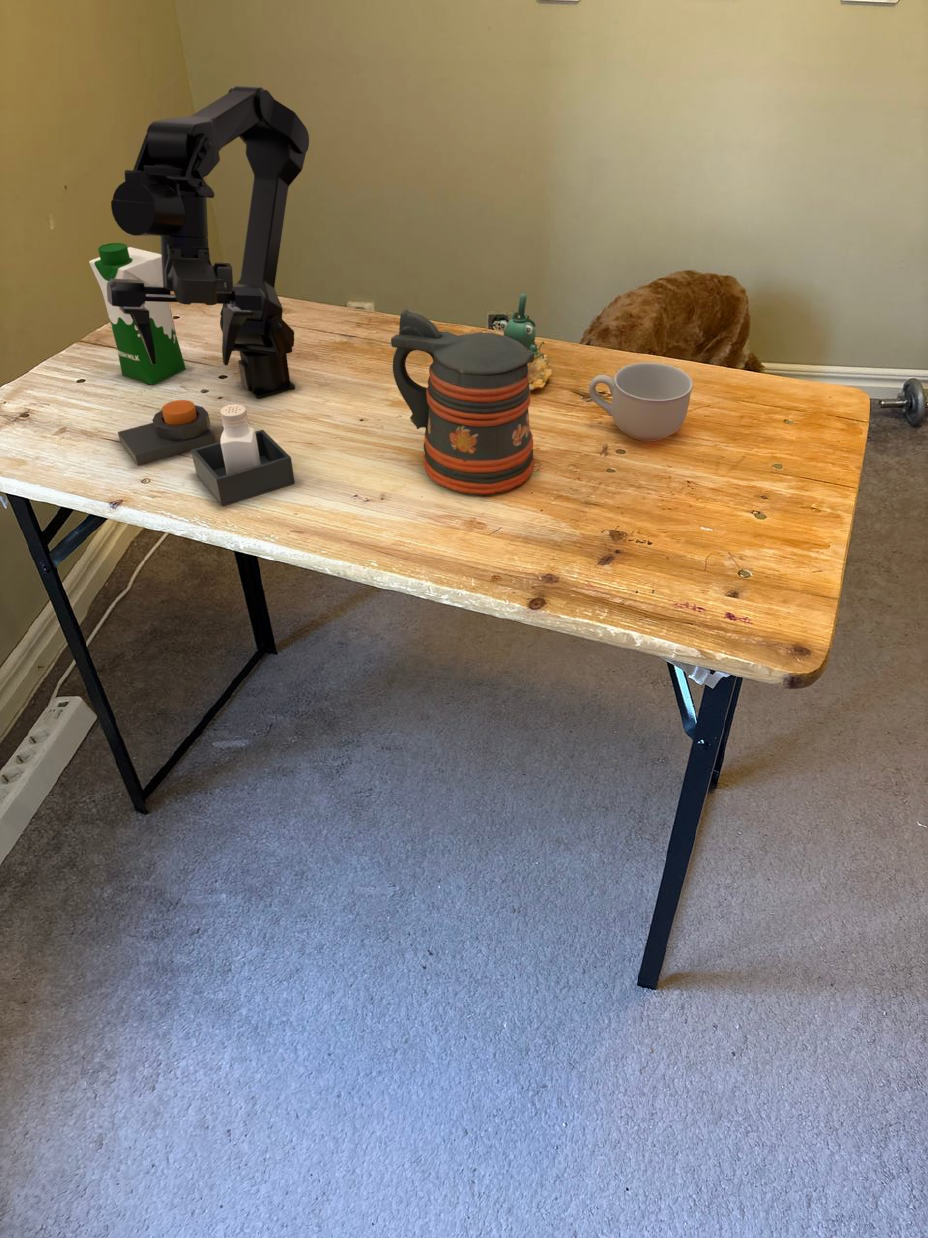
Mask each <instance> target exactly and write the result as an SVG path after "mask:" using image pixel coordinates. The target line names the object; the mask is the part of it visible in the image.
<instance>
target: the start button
mask: <svg viewBox="0 0 928 1238" xmlns="http://www.w3.org/2000/svg"><path fill="white" fill-rule="evenodd" d="M195 405H196V404H195V403H194V402H193V401H191V400H187V399H178V400H177V399H176V400H172V401H169V402H167V403H165V404H164V405H163V406H162V407H161V410H162V413H163V417H164V421H165V423H167V424H171V425H182V424H186V423H190V422H192V421H194V420H195V419H196V418H197V414H196V409H195Z"/></svg>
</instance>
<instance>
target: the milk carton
mask: <svg viewBox="0 0 928 1238" xmlns="http://www.w3.org/2000/svg"><path fill="white" fill-rule="evenodd" d="M97 250H98V255H99V257H96V258H93V259H91V260H89V262H88V263H89V265H90V268H91V270H92V272H93V274H94V277H95V278H96V280H97V283H98V285H99V287H100V290H101V293H102V295H103V296H102V297H103V300H104V304H105V307H106V308H105V309H106V312H107V316H108V319H109V322H110V327H111V330H112V334H113V338H114V342H115V345H116V350H117V355H118V360H119V365H120V372H121V376H122V377H125V378H128V379H130V380H134V381H138V382H140V383H144V384H146V385H149V386H154V385H157V384H159V383H161V382H163V381H165V380H167V379H169V378H171V377H174V376H175V375H177V374H179V373H182V372H183V371H186V370H187V368H186V364H185V361H184V357H183V353H182V351H181V347H180V344H179V340H178V336H177V332H176V331H177V330H176V328H175V323H174V319H173V318H174V317H173V314H172V310H171V305H170V302H153V301H145V308H146V309H147V310H149V316H150V326H151V331H152V337H153V343H154V348H155V356H156V365H152V363H151V361H150V358H149V356H148V353H147V351H146V348H145V346H144V343H143V341H142V338H141V336H140V333H139V331H138V329H137V327H136V325H135V323H134V321H133V319H132V317H131V316H130V314H124V313H123V312H122V311H121V310H120V309H119V307H117V306H112V305H111V304H110V303H109V302H108V298H107V283H108V281H109V280H110V279H131V280H140V281H141V282H143V283H144V286H153V287H163V276H162V258H161V253H158V252H154V251H153V252H152V251H148V250H144V249H140V248H136V247H132V246H129V247H128V246H127V244H125V243H122V242H111V243H110V242H109V243H105V244H102V245H100V246H99V247H98V248H97Z"/></svg>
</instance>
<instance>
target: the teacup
mask: <svg viewBox="0 0 928 1238" xmlns="http://www.w3.org/2000/svg"><path fill="white" fill-rule="evenodd" d="M599 384H604V385H606V386H607V387H608V389H609V394H610V396H611V402H609V401H608V400H605V399H604V398H602V397H601V396H600V395H599V394H598V392H597V390H596V388H597V386H598V385H599ZM693 389H694V381H693V379H692V377H691V375H689V374H688V373H687V372H686V371H684V370H682V369H681V368H678V367H676V366H674V365H670V364H668V363H667V364H666V363H663V362H653V361H651V362H650V361H649V362H647V361H644V362H643V361H642V362H635V363H632V364H631V363H630V364H628V365H624V366H622V367H621V368H620V369H618V370H617V371H616V373H615V374H614V377H613V378H612V377H611V376H610V375H607V374H598V375H595V376H594V377H593V378H592V379H591V380H590V382H589V384H588V395H589V397H590V399H591V400H592V402H593V403H594V404H596V405H597V406H598V407H600V408H601V409H603V411H606V414H607V415H608V416H609V417H612V421H613V422H614V424H615V426H616V427H617V428H618V429H619V430H621V431H622V433H624V434H625V435H626V436H628V437H630V438H632V439H634V440H637V441H642V442H657V441H660V440H663V439H666V438H667V437H669V436H672V435H673V434H675V433H676V432H678V431H679V430H680V429H681V427H682V426H683V425H684V423H685V421H686V417H687V414H688V410H689V406H690V401H691V394H692V391H693Z"/></svg>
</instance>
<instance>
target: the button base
mask: <svg viewBox="0 0 928 1238" xmlns="http://www.w3.org/2000/svg"><path fill="white" fill-rule="evenodd" d="M194 405H195V409H196V414H197V418H196V419H195V420H194V421H192V422H190V423H186V424H182V425H171V424H167V423H165V421H164V417H163V413H162V409H161V410H159V411H158V412H156V413H155V414H154V416H153V418H152V421H151V423H147V424H146V423H145V424H142V425H139V426H135V427H131V428H128V429H124V430H123V429H122V430H120V431H117V435H118V438H119V442H120V444H121V445H122V447H123V449H125V451H126V452H127V454H128V455H129V456H130V457H131V460H132V461H133V462H134V463H135V465H136V466H137V467H140V466H143V465H147V464H152V463H154V462H158V461H161V460H165V459H168V458H172V457H174V456H175V457H176V456H179V455H183V454H186V453H189V452H190V453H191V450H193V449H196V448H200V447H203V446H207V445H210V444H214V443H216V439H215V434H214V433H213V431H212V430H211V429H210V426H211V421H210V416H209V412H208V411H207V410H206V409H205V407H203V406H201V405H196V404H194Z"/></svg>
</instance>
